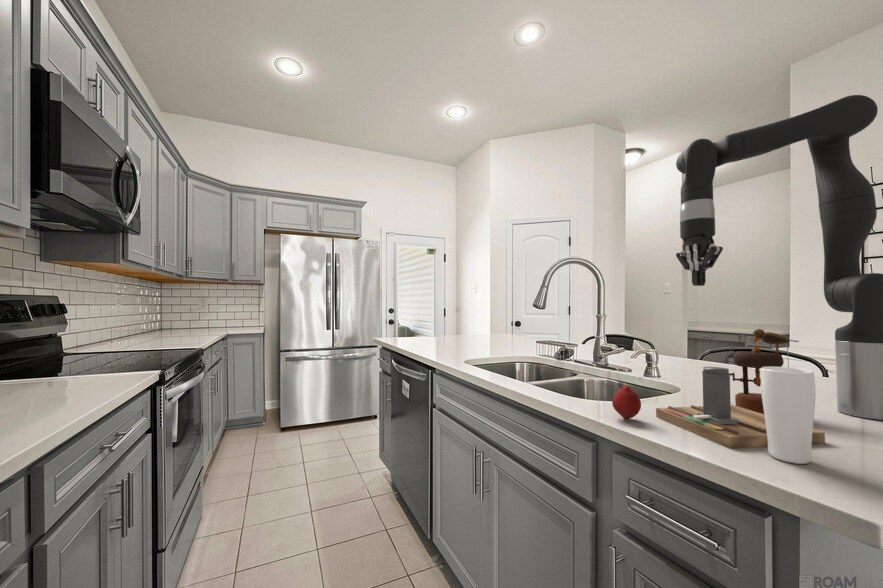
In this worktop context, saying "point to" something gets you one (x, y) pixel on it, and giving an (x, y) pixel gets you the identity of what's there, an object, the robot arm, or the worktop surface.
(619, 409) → the onion
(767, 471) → the worktop surface
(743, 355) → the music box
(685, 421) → the board
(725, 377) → the peg slider
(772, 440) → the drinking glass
